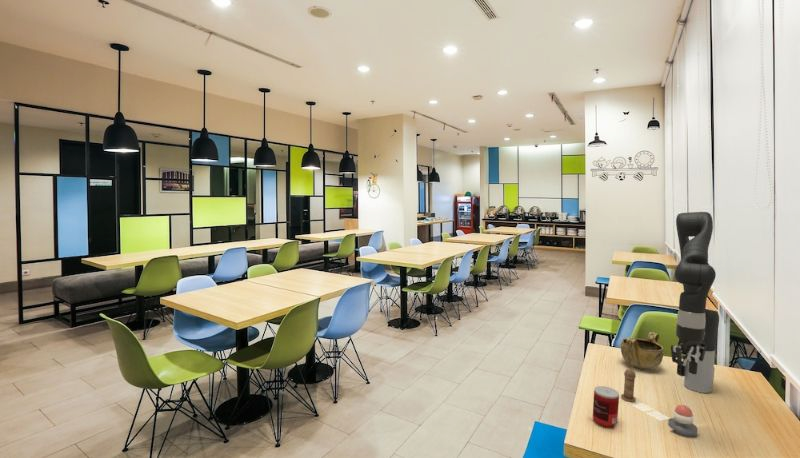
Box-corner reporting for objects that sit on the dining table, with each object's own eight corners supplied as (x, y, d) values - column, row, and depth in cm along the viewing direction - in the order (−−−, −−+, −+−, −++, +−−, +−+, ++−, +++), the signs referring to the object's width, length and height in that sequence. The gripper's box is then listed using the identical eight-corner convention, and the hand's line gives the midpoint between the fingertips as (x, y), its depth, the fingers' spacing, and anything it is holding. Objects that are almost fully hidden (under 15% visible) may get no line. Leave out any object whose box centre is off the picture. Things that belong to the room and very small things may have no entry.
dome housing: (678, 422, 139) (679, 416, 139) (702, 435, 132) (703, 429, 132) (662, 425, 137) (662, 420, 137) (685, 439, 129) (686, 433, 129)
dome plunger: (680, 414, 137) (681, 400, 137) (696, 422, 132) (697, 408, 132) (669, 417, 136) (671, 403, 135) (685, 425, 131) (686, 410, 130)
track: (628, 396, 157) (628, 393, 157) (674, 421, 140) (674, 418, 140) (613, 399, 154) (613, 396, 154) (657, 425, 137) (658, 422, 137)
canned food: (615, 418, 141) (617, 387, 140) (619, 430, 134) (621, 398, 133) (591, 413, 144) (592, 384, 143) (593, 425, 136) (595, 394, 135)
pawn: (627, 395, 156) (629, 366, 155) (639, 401, 151) (641, 371, 150) (617, 397, 154) (619, 368, 153) (629, 403, 150) (631, 373, 149)
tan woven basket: (646, 379, 173) (649, 345, 172) (608, 364, 187) (610, 333, 186) (672, 368, 184) (674, 336, 183) (634, 355, 199) (636, 326, 198)
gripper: (694, 319, 137) (690, 367, 139) (664, 322, 133) (660, 372, 134) (717, 325, 130) (713, 376, 132) (686, 329, 126) (682, 382, 127)
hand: (686, 374), depth 133 cm, fingers open, 5 cm apart
